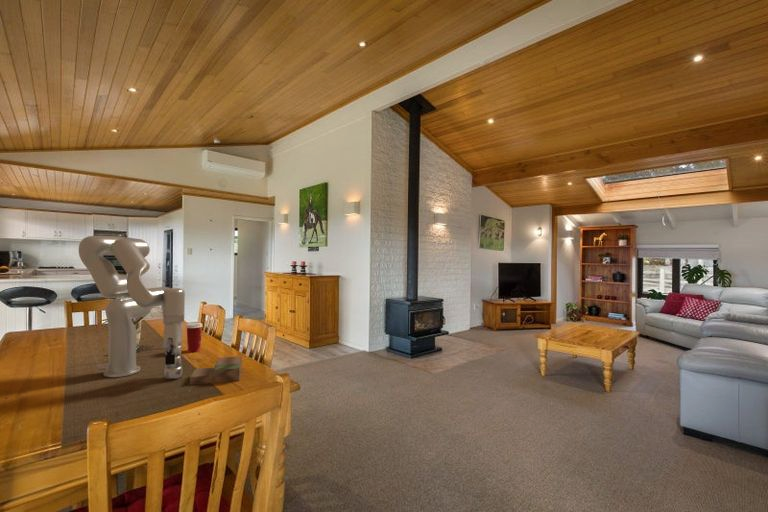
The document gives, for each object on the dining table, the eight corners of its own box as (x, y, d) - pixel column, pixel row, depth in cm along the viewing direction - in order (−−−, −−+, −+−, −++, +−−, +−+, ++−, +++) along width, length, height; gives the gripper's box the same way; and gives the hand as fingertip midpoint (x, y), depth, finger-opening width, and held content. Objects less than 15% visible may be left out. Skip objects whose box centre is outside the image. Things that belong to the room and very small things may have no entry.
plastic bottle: (174, 381, 144) (174, 332, 143) (159, 380, 145) (160, 330, 145) (186, 376, 150) (186, 328, 150) (172, 374, 151) (172, 327, 151)
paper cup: (205, 350, 187) (205, 323, 187) (190, 354, 180) (191, 326, 180) (197, 347, 191) (197, 321, 191) (182, 351, 185) (182, 324, 184)
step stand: (189, 384, 141) (190, 367, 141) (195, 375, 151) (195, 359, 151) (239, 380, 146) (239, 363, 146) (241, 372, 156) (241, 356, 156)
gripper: (169, 315, 154) (169, 355, 155) (156, 323, 138) (156, 368, 138) (188, 314, 156) (188, 353, 157) (178, 322, 140) (178, 366, 140)
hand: (173, 360), depth 147 cm, fingers open, 9 cm apart
